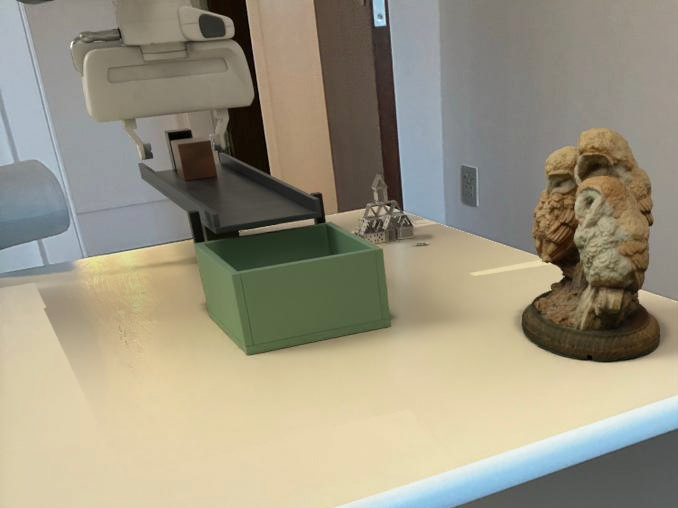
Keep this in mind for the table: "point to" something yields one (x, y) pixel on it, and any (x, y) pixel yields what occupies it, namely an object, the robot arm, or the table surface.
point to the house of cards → (384, 221)
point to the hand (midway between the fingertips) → (183, 154)
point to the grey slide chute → (232, 194)
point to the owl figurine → (594, 252)
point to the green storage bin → (293, 286)
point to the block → (194, 158)
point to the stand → (205, 234)
